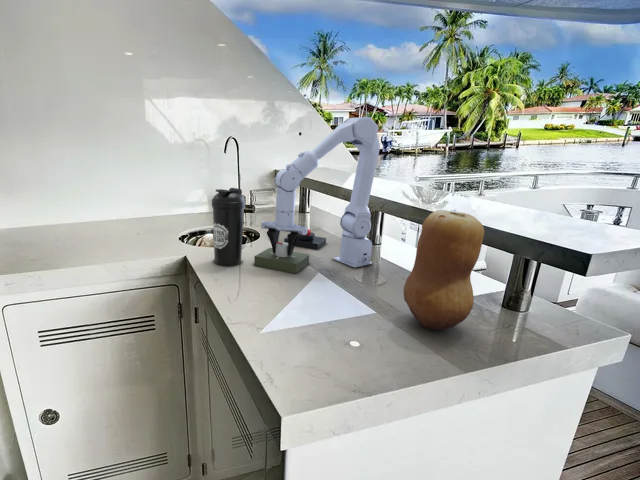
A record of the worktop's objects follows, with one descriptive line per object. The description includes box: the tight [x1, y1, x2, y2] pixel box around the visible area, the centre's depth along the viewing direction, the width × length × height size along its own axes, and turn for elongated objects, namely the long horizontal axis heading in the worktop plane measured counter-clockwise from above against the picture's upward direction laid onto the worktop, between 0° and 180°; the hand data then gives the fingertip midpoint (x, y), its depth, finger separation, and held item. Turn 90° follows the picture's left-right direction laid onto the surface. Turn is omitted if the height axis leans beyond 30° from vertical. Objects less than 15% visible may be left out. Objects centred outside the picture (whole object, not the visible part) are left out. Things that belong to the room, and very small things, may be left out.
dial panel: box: [253, 247, 310, 274], centre depth 119 cm, size 14×11×3 cm
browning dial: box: [275, 241, 288, 257], centre depth 118 cm, size 4×4×4 cm
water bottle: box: [211, 187, 246, 267], centre depth 117 cm, size 10×10×23 cm
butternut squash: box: [403, 209, 485, 331], centre depth 79 cm, size 14×13×25 cm
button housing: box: [283, 231, 327, 250], centre depth 142 cm, size 13×10×4 cm
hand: (282, 253), depth 119 cm, fingers closed on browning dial, 4 cm apart
